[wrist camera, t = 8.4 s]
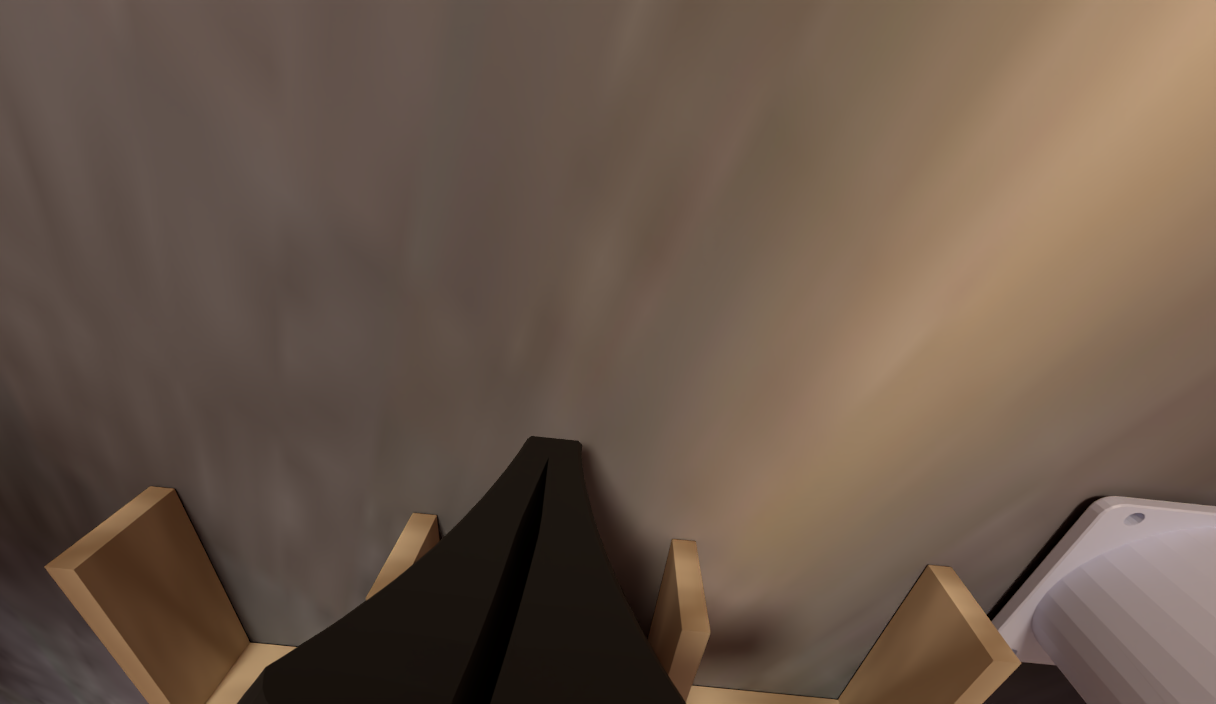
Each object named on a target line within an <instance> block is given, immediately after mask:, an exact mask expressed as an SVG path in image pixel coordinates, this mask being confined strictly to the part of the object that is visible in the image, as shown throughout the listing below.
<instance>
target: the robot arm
mask: <svg viewBox="0 0 1216 704" xmlns="http://www.w3.org/2000/svg"><path fill="white" fill-rule="evenodd" d="M581 451H582V444H581V443H580V442H579V441H574V440H564V439H555V438H545V437H535V436H531V437H530V438H528V439H527V440H526V442H525V444H524V445H523V447H522V448H521V450H520V451H519V453H518V454H517V455H516V457H515V458H514V459H513V461H512V462H511V463H510V465H509V466H508V467H507V469H506V470H505V471H504V473H503V474H502V475H501V476H500V477H499V479H498V480H497V481H496V482H495V483H494V485H493V486H492V487H491V488H490V489H489V491H488V492H487V493H486V494H485V495H484V496H483V498H482V499H481V500H480V501H479V502H478V503H477V504H476V505H475V506H474V507H473V508H472V509H471V510H470V511H469V513H468V514H467V515H466V516H465V517H464V518H463V519H462V520H461V521H460V522H459V523H458V524H457V525H456V526H455V527H454V528H453V529H452V530H451V531H450V532H449V533H448V534H447V535H446V536H445V537H444V538H442V539H441V540H440V541H439V542H438V543H437V544H436V545H435V546H434V547H433V548H432V549H430V550H429V551H428V552H427V553H426V554H425V555H423V556H422V557H421V558H420V559H419V560H417V561H416V562H415V563H414V564H413V565H412V566H410V567H409V568H408V569H407V570H406V571H404V572H403V573H402V574H401V575H399V576H398V577H397V578H396V579H394V580H393V581H392V582H391V583H389V584H388V585H387V586H385V587H384V588H383V589H381V590H380V591H379V592H377V593H376V594H374V595H373V596H372V597H370V598H369V599H368V600H366V601H365V602H363V603H362V604H361V605H359V606H358V607H357V608H355V609H354V610H352V611H351V612H350V613H348V614H347V615H346V616H344V617H343V618H341V619H340V620H338V621H337V622H335V623H334V624H332V625H331V626H329V627H328V628H326V629H325V630H323V631H322V632H320V633H319V634H317V635H315V636H314V637H312V638H311V639H309V640H308V641H306V642H304V643H303V644H301V645H300V646H298V647H297V648H295V649H293V650H292V651H290V652H289V653H287V654H286V655H284V656H282V657H281V658H279V659H278V660H276V661H274V662H273V663H271V664H269V665H268V666H266V667H265V668H264V670H263V671H262V672H261V674H260V675H259V676H258V677H257V679H256V680H255V681H254V683H253V684H252V685H251V686H250V687H249V689H248V690H247V691H246V692H245V693H244V695H243V696H242V697H241V699H240V700H239V701H238V703H237V704H686V702H685V701H684V699H683V697H682V696H681V694H680V693H679V691H678V690H677V688H676V687H675V685H674V684H673V682H672V680H671V679H670V677H669V676H668V674H667V672H666V671H665V669H664V668H663V666H662V664H661V663H660V661H659V659H658V658H657V656H656V654H655V652H654V651H653V649H652V647H651V645H650V644H649V642H648V640H647V638H646V637H645V635H644V633H643V631H642V629H641V628H640V626H639V624H638V622H637V620H636V618H635V616H634V614H633V612H632V610H631V608H630V606H629V604H628V602H627V600H626V598H625V596H624V594H623V592H622V590H621V588H620V586H619V583H618V581H617V579H616V577H615V574H614V572H613V570H612V567H611V565H610V562H609V560H608V558H607V555H606V552H605V550H604V547H603V544H602V542H601V539H600V536H599V533H598V530H597V527H596V524H595V521H594V517H593V514H592V510H591V507H590V503H589V499H588V494H587V490H586V486H585V481H584V475H583V469H582V458H581ZM991 622H992V624H993V625H994V626H995V628H996V629H997V630H998V632H999V633H1000V634H1001V636H1002V637H1003V639H1004V640H1005V641H1006V643H1007V644H1008V645H1009V647H1010V648H1011V649H1012V651H1013V652H1014V654H1015V655H1016V656H1017V658H1018V659H1019V660H1020V662H1028V663H1038V664H1048V665H1056V666H1057V667H1058V668H1059V669H1060V671H1061V672H1062V673H1063V674H1064V676H1065V677H1066V678H1067V679H1068V681H1069V682H1070V683H1071V684H1072V686H1073V687H1074V688H1075V690H1076V691H1077V692H1078V693H1079V695H1080V696H1081V697H1082V698H1083V700H1084V701H1085V702H1086V703H1087V704H1216V506H1208V505H1198V504H1188V503H1178V502H1169V501H1159V500H1149V499H1140V498H1130V497H1120V496H1107V497H1103V498H1100V499H1098V500H1096V501H1094V502H1093V503H1092V504H1091V505H1090V506H1089V507H1088V508H1087V509H1086V510H1085V512H1084V513H1083V514H1082V515H1081V516H1080V517H1079V519H1078V520H1077V521H1076V522H1075V523H1074V525H1073V526H1072V527H1071V528H1070V529H1069V530H1068V532H1067V533H1066V534H1065V535H1064V536H1063V537H1062V539H1061V540H1060V541H1059V542H1058V543H1057V545H1056V546H1055V547H1054V548H1053V549H1052V550H1051V552H1050V553H1049V554H1048V555H1047V556H1046V558H1045V559H1044V560H1043V561H1042V562H1041V563H1040V565H1039V566H1038V567H1037V568H1036V569H1035V570H1034V572H1033V573H1032V574H1031V575H1030V576H1029V578H1028V579H1027V580H1026V581H1025V582H1024V583H1023V585H1022V586H1021V587H1020V588H1019V589H1018V590H1017V592H1016V593H1015V594H1014V595H1013V596H1012V598H1011V599H1010V600H1009V601H1008V602H1007V603H1006V605H1005V606H1004V607H1003V608H1002V609H1001V611H1000V612H999V613H998V614H997V615H996V616H995V618H994V619H993V620H992V621H991Z"/></svg>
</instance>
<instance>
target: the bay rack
mask: <svg viewBox="0 0 1216 704" xmlns="http://www.w3.org/2000/svg"><path fill="white" fill-rule="evenodd" d="M439 541H440V539H439V531H438V522H437V515H429V514H419V513H413V514H412V515H411V517H410V519H409V521H408V523H407V525H406V526H405V528H404V530H403V532H402V534H401V535H400V537H399V539H398V541H397V543H396V544H395V546H394V548H393V550H392V552H391V554H390V555H389V557H388V559H387V561H386V563H385V564H384V566H383V568H382V570H381V572H380V573H379V575H378V577H377V579H376V581H375V582H374V584H373V586H372V588H371V590H370V592H369V593H368V595H367V597H366V600H368V599H369V598H370V597H372V596H373V595H374V594H376V593H377V592H379V591H380V590H381V589H383V588H384V587H385V586H387V585H388V584H389V583H391V582H392V581H393V580H394V579H396V578H397V577H398V576H399V575H401V574H402V573H403V572H404V571H406V570H407V569H408V568H409V567H410V566H412V565H413V564H414V563H415V562H416V561H417V560H419V559H420V558H421V557H422V556H423V555H425V554H426V553H427V552H428V551H429V550H430V549H432V548H433V547H434V546H435V545H436V544H437V543H438V542H439ZM44 567H45V569H46V570H47V571H48V573H49V574H50V575H51V576H52V578H53V579H54V580H55V582H56V583H57V584H58V586H59V587H60V588H61V590H62V591H63V592H64V593H65V595H66V596H67V597H68V599H69V600H70V601H71V603H72V604H73V605H74V606H75V608H76V609H77V610H78V612H79V613H80V614H81V616H82V617H83V618H84V620H85V621H86V622H87V623H88V625H89V626H90V627H91V629H92V630H93V631H94V633H95V634H96V635H97V636H98V638H99V639H100V640H101V642H102V643H103V644H104V646H105V647H106V648H107V650H108V651H109V652H110V653H111V655H112V656H113V657H114V659H115V660H116V661H117V663H118V664H119V665H120V666H121V668H122V669H123V670H124V672H125V673H126V674H127V676H128V677H129V678H130V679H131V681H132V682H133V683H134V685H135V686H136V687H137V689H138V690H139V691H140V693H141V694H142V695H143V696H144V698H145V699H146V700H147V702H148V703H149V704H237V703H238V701H239V700H240V699H241V697H242V696H243V695H244V693H245V692H246V691H247V690H248V689H249V687H250V686H251V685H252V684H253V683H254V681H255V680H256V679H257V677H258V676H259V675H260V674H261V672H262V671H263V670H264V668H265V667H266V666H268V665H269V664H271V663H273V662H274V661H276V660H278V659H279V658H281V657H282V656H284V655H286V654H287V653H289V652H290V651H292V650H293V649H295V648H297V647H291V646H280V645H270V644H260V643H250V641H249V639H248V637H247V635H246V633H245V631H244V629H243V627H242V625H241V623H240V621H239V619H238V617H237V615H236V613H235V611H234V609H233V607H232V605H231V603H230V601H229V599H228V597H227V595H226V593H225V591H224V589H223V587H222V585H221V583H220V581H219V579H218V577H217V575H216V572H215V570H214V568H213V566H212V564H211V562H210V560H209V558H208V556H207V554H206V552H205V550H204V548H203V546H202V544H201V542H200V540H199V538H198V536H197V534H196V532H195V530H194V528H193V526H192V524H191V522H190V520H189V518H188V516H187V514H186V512H185V510H184V508H183V506H182V503H181V501H180V499H179V497H178V495H177V493H176V491H175V489H172V488H162V487H152V486H150V487H149V488H147V489H146V490H145V491H143V492H142V493H141V494H139V495H138V496H137V497H135V498H134V499H133V500H132V501H130V502H129V503H128V504H126V505H125V506H124V507H122V508H121V509H120V510H118V511H117V512H116V513H114V514H113V515H112V516H110V517H109V518H108V519H106V520H105V521H104V522H102V523H101V524H100V525H99V526H97V527H96V528H95V529H93V530H92V531H91V532H89V533H88V534H87V535H85V536H84V537H83V538H81V539H80V540H79V541H77V542H76V543H75V544H73V545H72V546H71V547H70V548H68V549H67V550H66V551H64V552H63V553H62V554H60V555H59V556H58V557H56V558H55V559H54V560H52V561H51V562H50V563H48V564H47V565H46V566H44ZM710 633H711V632H710V626H709V620H708V614H707V608H706V601H705V595H704V589H703V583H702V577H701V571H700V565H699V559H698V553H697V547H696V541H687V540H677V539H672V542H671V546H670V550H669V554H668V558H667V563H666V567H665V571H664V575H663V579H662V583H661V587H660V591H659V595H658V600H657V604H656V608H655V612H654V616H653V620H652V624H651V628H650V632H649V636H648V642H649V644H650V645H651V647H652V649H653V651H654V652H655V654H656V656H657V658H658V659H659V661H660V663H661V664H662V666H663V668H664V669H665V671H666V672H667V674H668V676H669V677H670V679H671V680H672V682H673V684H674V685H675V687H676V688H677V690H678V691H679V693H680V694H681V696H682V697H683V699H684V701H685V702H686V704H982V703H983V702H984V701H985V700H986V699H987V698H988V697H989V696H990V695H991V694H992V693H993V692H994V691H995V690H996V689H997V688H998V687H999V686H1000V685H1001V684H1002V683H1003V682H1004V681H1005V680H1006V679H1007V678H1008V677H1009V676H1010V675H1011V674H1012V673H1013V672H1014V671H1015V670H1016V669H1017V668H1018V667H1019V666H1020V664H1021V662H1020V660H1019V659H1018V658H1017V656H1016V655H1015V654H1014V652H1013V651H1012V649H1011V648H1010V647H1009V645H1008V644H1007V643H1006V641H1005V640H1004V639H1003V637H1002V636H1001V634H1000V633H999V632H998V630H997V629H996V628H995V626H994V625H993V624H992V622H991V621H990V619H989V618H988V617H987V615H986V614H985V613H984V611H983V610H982V608H981V607H980V606H979V604H978V603H977V602H976V600H975V599H974V598H973V596H972V595H971V593H970V592H969V591H968V589H967V588H966V587H965V585H964V584H963V583H962V581H961V580H960V578H959V577H958V576H957V574H956V573H955V572H954V570H953V569H952V568H951V567H944V566H934V565H928V566H927V567H926V569H925V570H924V572H923V573H922V575H921V576H920V578H919V579H918V581H917V582H916V584H915V585H914V587H913V588H912V590H911V591H910V593H909V594H908V596H907V597H906V599H905V600H904V602H903V603H902V605H901V606H900V608H899V609H898V611H897V612H896V614H895V615H894V617H893V618H892V620H891V621H890V623H889V624H888V626H887V627H886V629H885V630H884V632H883V633H882V635H881V636H880V638H879V639H878V641H877V642H876V644H875V645H874V647H873V648H872V650H871V651H870V653H869V654H868V656H867V657H866V659H865V660H864V662H863V663H862V665H861V666H860V668H859V669H858V671H857V672H856V674H855V675H854V677H853V678H852V680H851V681H850V683H849V684H848V686H847V687H846V689H845V690H844V691H843V693H842V694H841V696H840V697H839V699H838V700H835V699H825V698H815V697H804V696H794V695H784V694H773V693H763V692H753V691H743V690H732V689H722V688H712V687H702V686H692V684H693V681H694V678H695V675H696V672H697V670H698V667H699V664H700V661H701V658H702V655H703V653H704V650H705V647H706V644H707V641H708V639H709V636H710Z"/></svg>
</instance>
